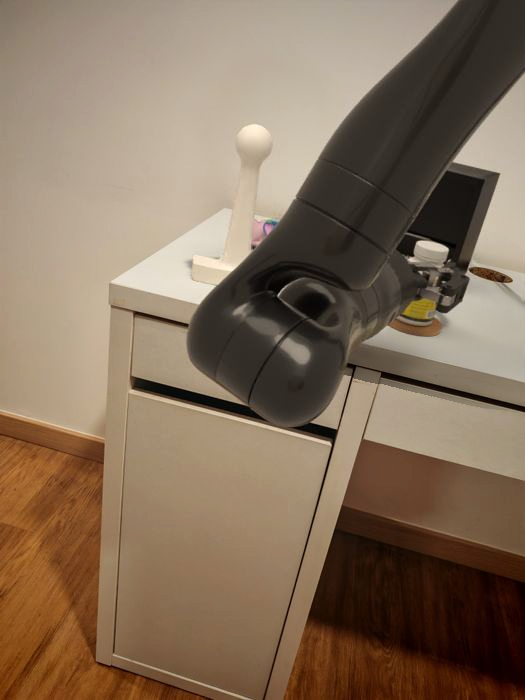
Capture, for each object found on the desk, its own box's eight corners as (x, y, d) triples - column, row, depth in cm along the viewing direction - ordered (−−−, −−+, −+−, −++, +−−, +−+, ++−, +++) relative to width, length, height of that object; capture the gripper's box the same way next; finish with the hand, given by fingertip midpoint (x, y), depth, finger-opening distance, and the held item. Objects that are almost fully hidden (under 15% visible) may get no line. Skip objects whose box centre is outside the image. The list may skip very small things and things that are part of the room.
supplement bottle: (386, 306, 78) (407, 235, 73) (426, 313, 78) (449, 243, 74) (394, 323, 73) (416, 248, 69) (436, 330, 73) (461, 256, 69)
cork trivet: (428, 313, 80) (430, 309, 80) (450, 339, 73) (451, 335, 73) (372, 306, 79) (374, 302, 79) (389, 332, 72) (390, 327, 72)
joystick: (190, 282, 75) (210, 118, 67) (192, 263, 82) (210, 111, 73) (275, 293, 77) (305, 135, 68) (269, 273, 84) (296, 126, 75)
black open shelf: (448, 290, 91) (485, 179, 83) (322, 249, 99) (345, 145, 92) (466, 272, 101) (500, 173, 94) (351, 237, 110) (373, 143, 102)
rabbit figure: (287, 276, 88) (273, 231, 100) (296, 240, 84) (280, 198, 96) (246, 272, 87) (236, 227, 98) (254, 235, 83) (243, 193, 95)
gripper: (450, 278, 47) (488, 244, 60) (296, 229, 52) (361, 208, 66) (423, 360, 50) (465, 311, 63) (280, 306, 56) (346, 271, 69)
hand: (412, 259), depth 64 cm, fingers open, 8 cm apart
